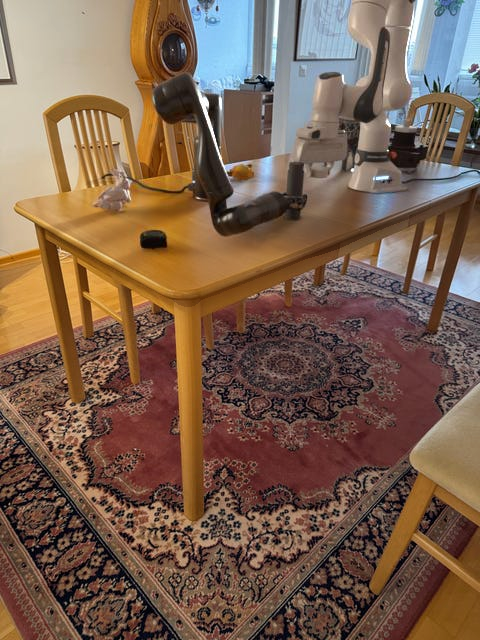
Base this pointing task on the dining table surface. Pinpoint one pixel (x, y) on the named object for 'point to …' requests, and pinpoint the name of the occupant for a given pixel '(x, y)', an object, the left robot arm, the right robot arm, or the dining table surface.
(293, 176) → the jar
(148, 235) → the tape measure
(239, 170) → the toy
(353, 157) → the planter
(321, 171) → the lid
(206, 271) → the dining table surface
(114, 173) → the figurine
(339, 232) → the dining table surface
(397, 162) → the mechanical component
